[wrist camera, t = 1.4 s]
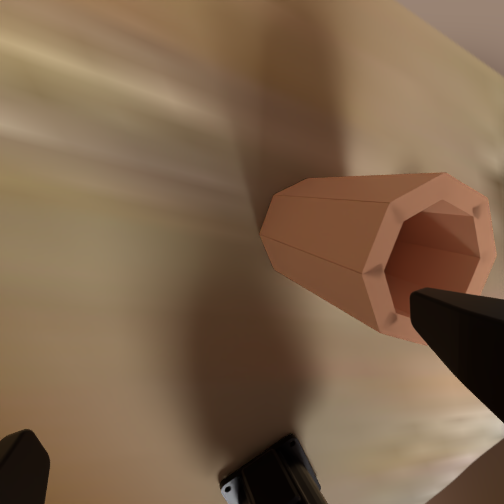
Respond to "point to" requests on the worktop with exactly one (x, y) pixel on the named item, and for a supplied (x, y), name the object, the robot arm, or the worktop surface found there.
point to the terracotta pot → (381, 242)
